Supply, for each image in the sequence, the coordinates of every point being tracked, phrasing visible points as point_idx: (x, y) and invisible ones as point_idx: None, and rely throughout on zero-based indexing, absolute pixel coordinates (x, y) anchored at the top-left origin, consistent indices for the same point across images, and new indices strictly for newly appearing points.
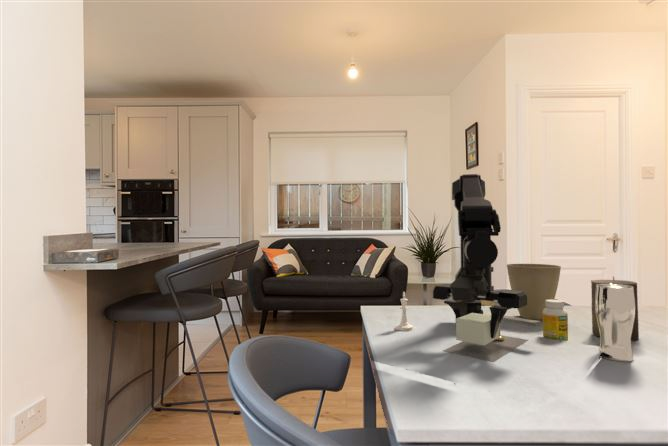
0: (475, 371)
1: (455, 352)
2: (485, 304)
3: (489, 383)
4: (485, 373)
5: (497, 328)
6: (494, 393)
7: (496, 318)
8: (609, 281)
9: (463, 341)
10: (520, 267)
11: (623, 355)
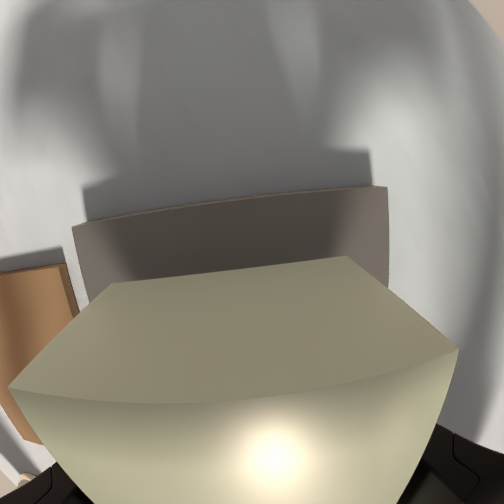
0: (118, 106)
1: (316, 215)
2: None
3: (35, 53)
4: (77, 124)
5: None
6: (12, 16)
7: (19, 495)
8: None
9: None
10: None
11: (19, 481)
